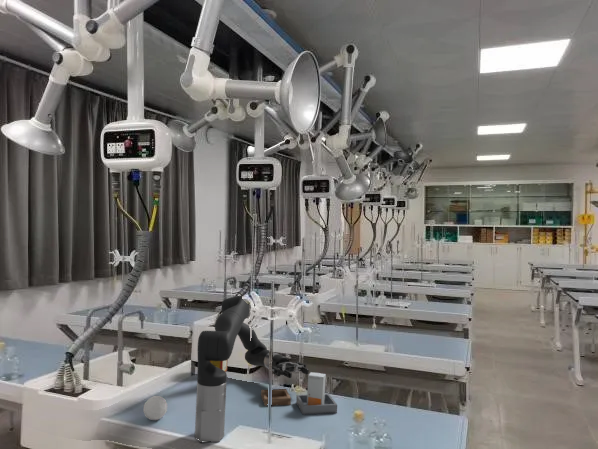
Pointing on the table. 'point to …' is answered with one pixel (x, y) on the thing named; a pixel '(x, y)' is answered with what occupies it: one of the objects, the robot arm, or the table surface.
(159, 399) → the geometric ball
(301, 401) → the tray
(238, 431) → the table surface
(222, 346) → the robot arm
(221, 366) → the baking soda box
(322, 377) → the skincare box
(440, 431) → the table surface
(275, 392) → the socket block
